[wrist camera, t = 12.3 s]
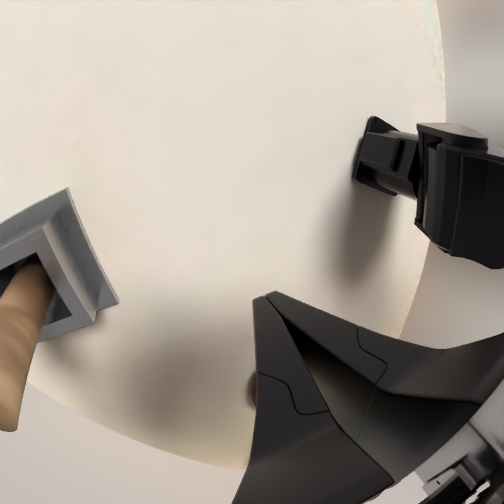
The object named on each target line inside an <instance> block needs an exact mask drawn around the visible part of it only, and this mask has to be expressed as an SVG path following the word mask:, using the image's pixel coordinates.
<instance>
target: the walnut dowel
mask: <svg viewBox="0 0 504 504" xmlns="http://www.w3.org/2000/svg"><path fill="white" fill-rule="evenodd" d="M55 292H56V287H55V286H54V284H53V282H52V280H51V279H50V277H49V275H48V273H47V271H46V270H45V268H44V266H43V264H42V262H41V260H40V258H39V256H38V254H37V252H35V253H33V254H31V255H29V256H28V257H27V258H26V259H25V261H24V262H23V264H22V265H21V267H20V268H19V270H18V271H17V273H16V274H15V276H14V277H13V279H12V280H11V282H10V284H9V285H8V287H7V288H6V290H5V292H4V293H3V295H2V297H1V299H0V430H2V431H7V432H14V431H16V430H17V426H18V419H19V414H20V408H21V403H22V398H23V393H24V389H25V384H26V380H27V376H28V372H29V368H30V364H31V361H32V357H33V354H34V350H35V347H36V344H37V341H38V338H39V335H40V332H41V329H42V326H43V323H44V320H45V317H46V315H47V312H48V309H49V307H50V304H51V301H52V299H53V296H54V294H55Z"/></svg>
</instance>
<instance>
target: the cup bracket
mask: <svg viewBox="0 0 504 504" xmlns="http://www.w3.org/2000/svg"><path fill="white" fill-rule="evenodd" d="M35 252H37V254H38V256H39V258H40V260H41V262H42V264H43V266H44V268H45V270H46V271H47V273H48V275H49V277H50V279H51V280H52V282H53V284H54V286H55V287H56V292H55V294H54V296H53V299H52V301H51V304H50V307H49V309H48V312H47V315H46V317H45V320H44V323H43V326H42V329H41V332H40V335H39V338H38V341H37V343H38V342H41V341H44V340H47V339H50V338H53V337H56V336H59V335H62V334H65V333H68V332H71V331H74V330H77V329H80V328H83V327H86V326H89V325H92V324H94V323H95V317H96V311H97V310H100V309H103V308H106V307H109V306H112V305H114V304H117V303H118V297H117V295H116V294H115V292H114V290H113V288H112V286H111V284H110V282H109V280H108V278H107V276H106V274H105V272H104V270H103V268H102V266H101V264H100V262H99V260H98V258H97V256H96V254H95V252H94V250H93V247H92V245H91V243H90V241H89V239H88V236H87V234H86V232H85V229H84V227H83V225H82V222H81V220H80V217H79V215H78V213H77V210H76V207H75V205H74V202H73V200H72V197H71V194H70V192H69V189H68V187H67V188H65V189H63V190H61V191H59V192H57V193H55V194H52V195H50V196H48V197H46V198H45V199H43V200H41V201H39V202H37V203H35V204H33V205H31V206H29V207H27V208H26V209H24V210H22V211H20V212H18V213H17V214H15V215H13V216H11V217H10V218H8V219H6V220H5V221H3V222H1V223H0V299H1V297H2V295H3V293H4V292H5V290H6V288H7V287H8V285H9V284H10V282H11V280H12V279H13V277H14V276H15V274H16V273H17V271H18V270H19V268H20V267H21V265H22V264H23V262H24V261H25V259H26V258H27V257H28V256H29V255H31V254H33V253H35Z"/></svg>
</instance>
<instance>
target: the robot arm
mask: <svg viewBox="0 0 504 504" xmlns="http://www.w3.org/2000/svg"><path fill="white" fill-rule="evenodd" d="M374 120H375V123H374ZM417 130H418V135H416V134H410V133H405V132H400V131H399V130H397V129H396V128H394V127H393V126H391V125H390V124H388V123H386V122H385V121H383V120H382V119H380V118H378V117H376V116H371V117H370V119H369V122H368V126H367V129H366V133H365V136H364V140H363V143H362V147H361V150H360V154H359V157H358V160H357V163H356V167H355V170H354V173H353V179H354V180H355V181H357V182H360V183H363V184H365V185H368V186H370V187H373V188H375V189H378V190H380V191H383V192H385V193H388V194H390V195H392V196H396V195H397V194H398V193H399V194H401V195H404V196H406V197H409V198H411V199H413V200H416V201H417V211H416V218H415V223H414V224H415V225H416V226H417V227H418V228H419V229H420V230H421V231H422V232H423V233H424V234H425V235H426V236H427V237H428V238H429V239H430V240H431V241H432V243H434V244H435V245H436V246H437V247H438V248H439V249H441V250H442V251H443V252H444V253H448V254H450V255H451V256H454V257H463V258H466V259H470V260H473V261H475V262H478V263H480V264H482V265H484V266H486V267H488V268H490V269H502V268H504V148H501V147H498V146H494V145H490V144H488V137H486V136H485V135H483V134H481V133H479V132H477V131H475V130H473V129H471V128H469V127H466V126H461V125H454V124H449V123H417ZM358 175H359V177H358ZM252 304H253V322H254V340H255V357H256V373H257V375H256V377H257V405H256V417H255V425H254V433H253V441H252V448H251V454H250V459H249V463H248V467H247V469H246V472H245V474H244V476H243V479H242V481H241V483H240V486H239V488H238V490H237V493H236V495H235V497H234V499H233V501H232V504H364V503H365V502H367V501H369V500H370V499H372V498H374V497H375V496H377V495H378V494H380V493H381V492H383V491H384V490H386V489H387V488H388V487H389V488H391V487H392V486H394V485H395V484H397V483H398V482H399V481H401V480H402V479H404V478H405V477H406V476H408V475H409V474H410V473H412V472H413V471H415V472H416V473H417V475H418V476H419V478H420V479H421V480H422V481H423V483H424V484H425V485H424V486H423V489H424V491H425V492H426V493H427V494H428V497H427V498H425V499H424V500H423V501H422V502H420V503H419V504H465V501H466V499H468V498H469V497H470V496H472V495H474V494H475V493H476V492H477V491H476V490H477V489H478V488H479V487H480V486H481V485H483V484H484V483H485V482H486V481H487V482H488V483H489V484H490V486H489V487H488V488H486V489H485V490H483V491H482V492H480V493H479V494H478V495H477V498H476V500H475V501H474V502H472V503H470V504H504V333H501V334H499V335H496V336H493V337H489V338H486V339H483V340H479V341H476V342H472V343H469V344H466V345H461V346H458V347H454V348H449V349H434V348H429V347H424V346H421V345H417V344H413V343H410V342H406V341H402V340H399V339H395V338H392V337H389V336H385V335H382V334H379V333H377V332H374V331H371V330H368V329H366V328H364V327H361V326H358V327H357V325H356V324H353V323H351V322H349V321H346V320H344V319H341V318H339V317H336V316H334V315H332V314H329V313H327V312H325V311H322V310H320V309H317V308H315V307H313V306H310V305H308V304H306V303H303V302H301V301H299V300H296V299H294V298H292V297H289V296H287V295H285V294H282V293H280V292H278V291H273V292H270V293H268V294H266V295H265V296H260V297H258V298H255V299H253V301H252ZM335 419H336V420H337V421H336V420H335ZM337 422H338V423H339V424H340V426H341V427H342V428H343V429H342V428H341V427H340V426H339V424H338V423H337Z"/></svg>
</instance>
